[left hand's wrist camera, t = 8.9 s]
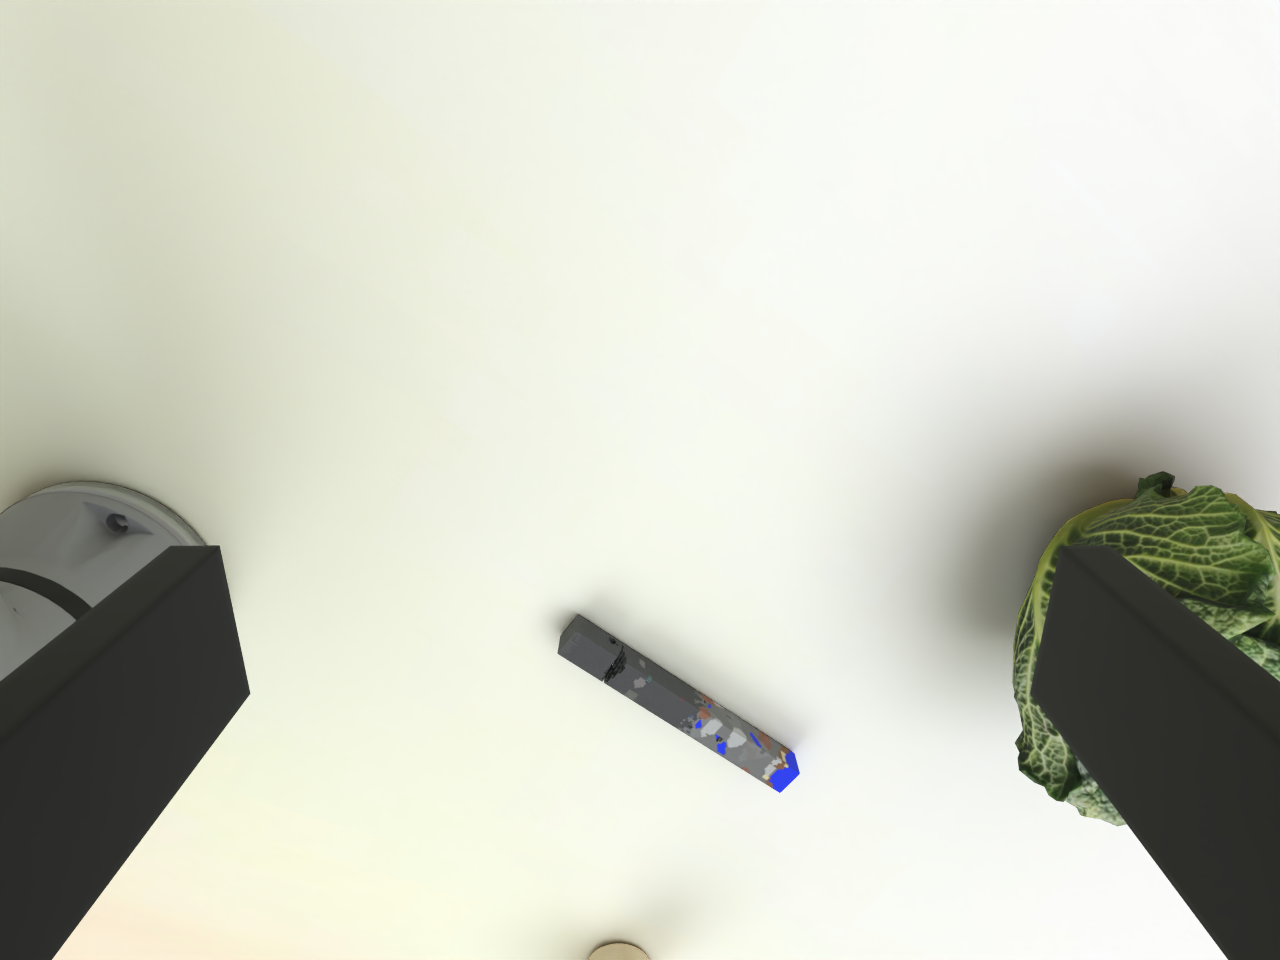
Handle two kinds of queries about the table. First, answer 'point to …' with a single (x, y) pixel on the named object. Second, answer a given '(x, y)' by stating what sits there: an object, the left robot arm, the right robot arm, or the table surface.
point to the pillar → (677, 703)
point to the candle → (618, 953)
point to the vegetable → (1182, 565)
